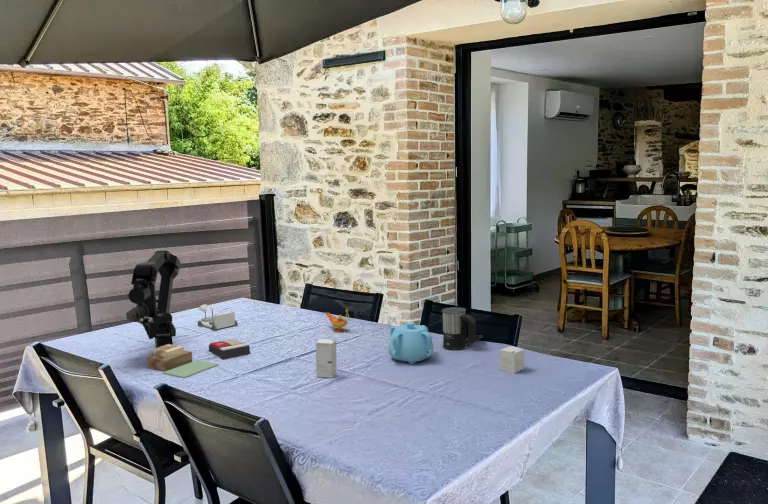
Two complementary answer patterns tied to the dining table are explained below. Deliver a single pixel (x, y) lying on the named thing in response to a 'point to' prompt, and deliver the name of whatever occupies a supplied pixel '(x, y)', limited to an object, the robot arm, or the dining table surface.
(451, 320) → the milk frother
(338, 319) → the magic lamp
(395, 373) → the dining table surface
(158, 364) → the brown wooden block
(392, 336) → the decorative pot
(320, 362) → the white miniature cabinet
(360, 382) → the dining table surface
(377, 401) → the dining table surface
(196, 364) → the mat
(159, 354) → the birch tile
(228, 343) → the calculator
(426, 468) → the dining table surface
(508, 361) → the skincare box
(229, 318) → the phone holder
